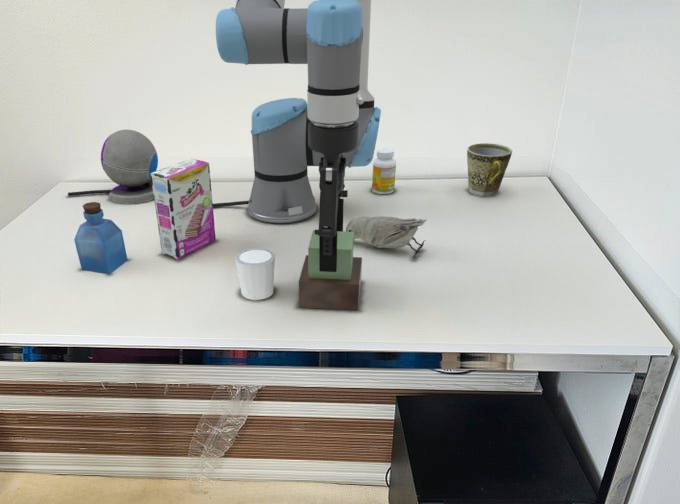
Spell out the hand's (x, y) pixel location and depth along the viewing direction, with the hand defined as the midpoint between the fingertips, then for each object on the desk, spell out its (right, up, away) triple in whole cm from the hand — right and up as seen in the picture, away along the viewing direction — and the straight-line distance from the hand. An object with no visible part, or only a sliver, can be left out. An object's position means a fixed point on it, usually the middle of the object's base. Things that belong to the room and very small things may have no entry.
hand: (331, 251), depth 103 cm
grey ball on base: (-46, +22, +46) cm, 69 cm away
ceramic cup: (+38, +21, +43) cm, 61 cm away
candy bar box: (-28, +4, +21) cm, 35 cm away
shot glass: (-13, -6, +5) cm, 15 cm away
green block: (0, -3, +1) cm, 3 cm away
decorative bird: (+11, +4, +19) cm, 22 cm away
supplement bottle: (+14, +23, +46) cm, 53 cm away
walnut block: (0, -7, +4) cm, 8 cm away
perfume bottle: (-43, 0, +15) cm, 46 cm away
